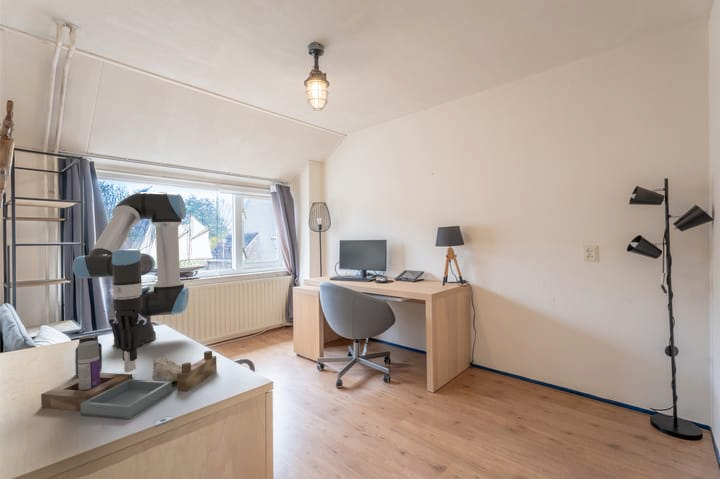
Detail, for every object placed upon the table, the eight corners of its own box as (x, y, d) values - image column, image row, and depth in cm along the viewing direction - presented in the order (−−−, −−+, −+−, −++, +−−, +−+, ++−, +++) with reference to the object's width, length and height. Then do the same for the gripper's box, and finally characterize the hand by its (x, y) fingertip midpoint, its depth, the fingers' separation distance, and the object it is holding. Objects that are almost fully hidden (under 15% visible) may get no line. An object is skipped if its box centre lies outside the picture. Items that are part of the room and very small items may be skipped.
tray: (129, 389, 95) (129, 379, 95) (171, 392, 93) (171, 381, 93) (80, 415, 81) (80, 403, 81) (128, 419, 79) (128, 407, 79)
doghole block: (93, 383, 100) (93, 372, 100) (132, 385, 97) (132, 374, 97) (41, 407, 86) (41, 394, 86) (85, 410, 83) (85, 397, 83)
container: (97, 390, 95) (95, 339, 95) (103, 394, 92) (101, 342, 92) (76, 397, 91) (75, 343, 91) (81, 401, 88) (80, 346, 88)
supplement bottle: (87, 377, 104) (85, 340, 104) (70, 376, 106) (68, 339, 106) (107, 368, 111) (106, 333, 111) (91, 367, 112) (90, 333, 112)
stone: (179, 383, 106) (173, 354, 109) (191, 375, 98) (184, 343, 101) (153, 393, 100) (146, 361, 103) (163, 384, 93) (156, 350, 96)
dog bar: (208, 370, 107) (207, 349, 107) (216, 371, 107) (216, 349, 107) (177, 390, 93) (176, 366, 93) (186, 391, 93) (185, 366, 93)
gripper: (99, 299, 102) (102, 374, 102) (135, 299, 99) (137, 376, 99) (121, 294, 109) (123, 364, 109) (155, 295, 107) (157, 366, 107)
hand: (130, 370), depth 104 cm, fingers closed
